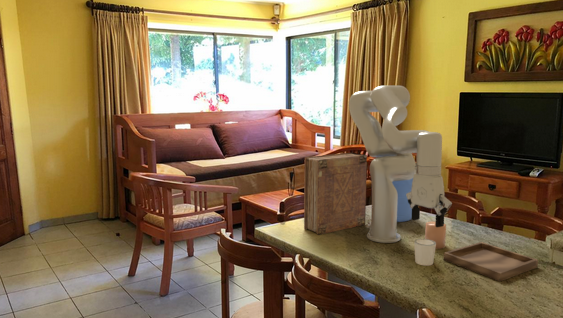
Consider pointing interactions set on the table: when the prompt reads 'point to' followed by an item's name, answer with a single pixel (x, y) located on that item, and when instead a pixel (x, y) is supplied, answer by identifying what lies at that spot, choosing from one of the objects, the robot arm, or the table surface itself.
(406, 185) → the water jug
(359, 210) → the book
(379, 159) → the robot arm
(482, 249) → the walnut tray
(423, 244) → the white tapered cup
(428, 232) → the peach rounded capsule
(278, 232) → the table surface
